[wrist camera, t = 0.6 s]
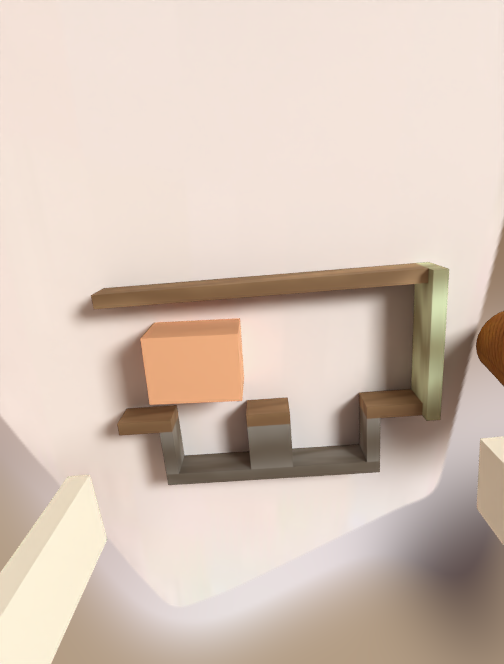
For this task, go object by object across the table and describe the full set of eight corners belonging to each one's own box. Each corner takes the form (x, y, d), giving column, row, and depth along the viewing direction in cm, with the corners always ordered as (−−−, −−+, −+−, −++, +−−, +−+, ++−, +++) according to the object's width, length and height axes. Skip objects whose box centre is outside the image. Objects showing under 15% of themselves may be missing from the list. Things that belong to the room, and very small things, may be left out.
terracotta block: (154, 322, 39) (140, 338, 34) (240, 317, 38) (237, 334, 34) (162, 381, 40) (149, 404, 36) (243, 377, 40) (242, 400, 35)
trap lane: (103, 288, 38) (86, 297, 34) (429, 262, 36) (449, 269, 33) (138, 468, 43) (126, 494, 39) (420, 450, 42) (437, 475, 38)
